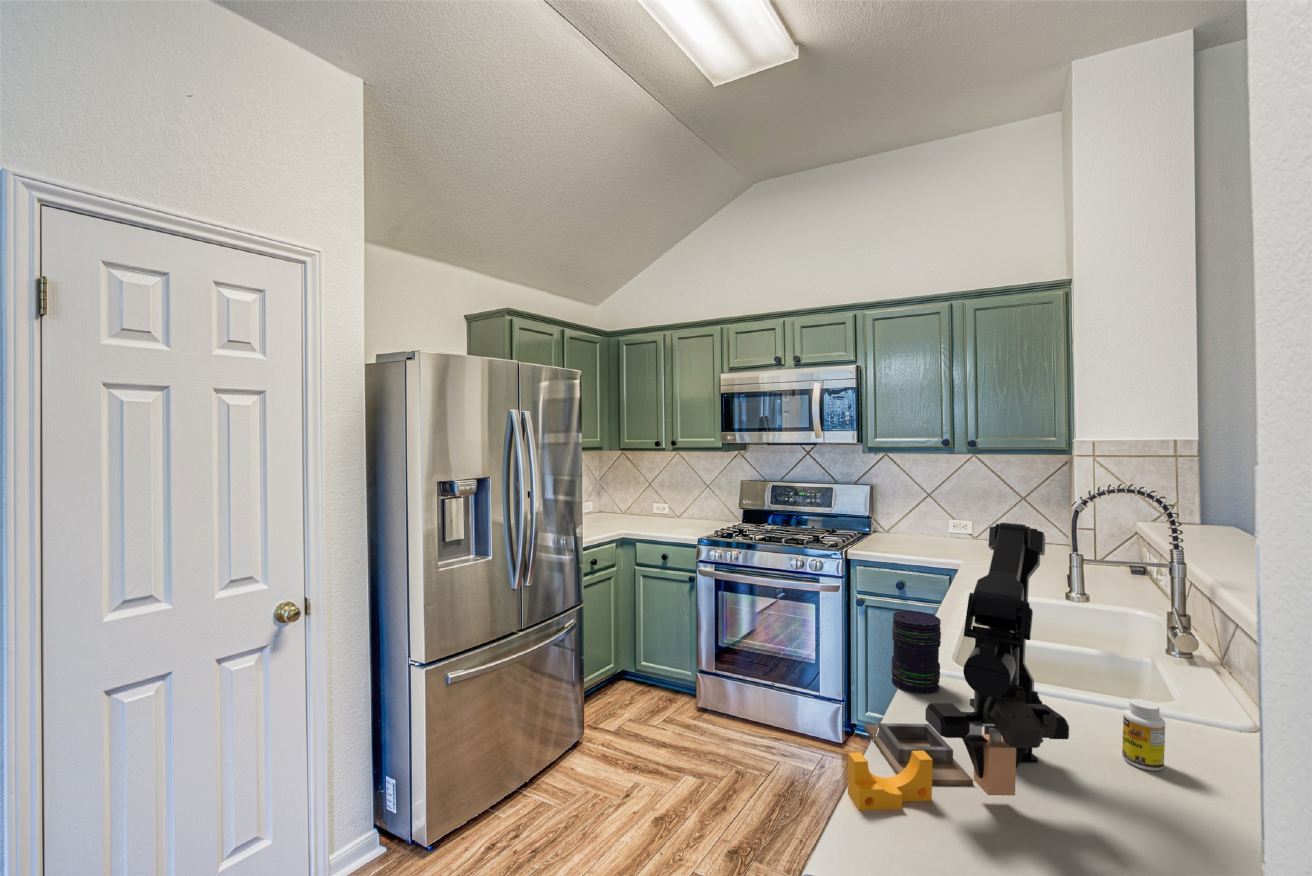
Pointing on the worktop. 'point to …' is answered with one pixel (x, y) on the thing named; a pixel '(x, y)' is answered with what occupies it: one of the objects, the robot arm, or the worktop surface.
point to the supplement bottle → (1143, 735)
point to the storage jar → (916, 652)
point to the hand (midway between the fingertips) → (994, 776)
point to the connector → (997, 766)
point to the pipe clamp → (889, 783)
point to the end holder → (918, 737)
